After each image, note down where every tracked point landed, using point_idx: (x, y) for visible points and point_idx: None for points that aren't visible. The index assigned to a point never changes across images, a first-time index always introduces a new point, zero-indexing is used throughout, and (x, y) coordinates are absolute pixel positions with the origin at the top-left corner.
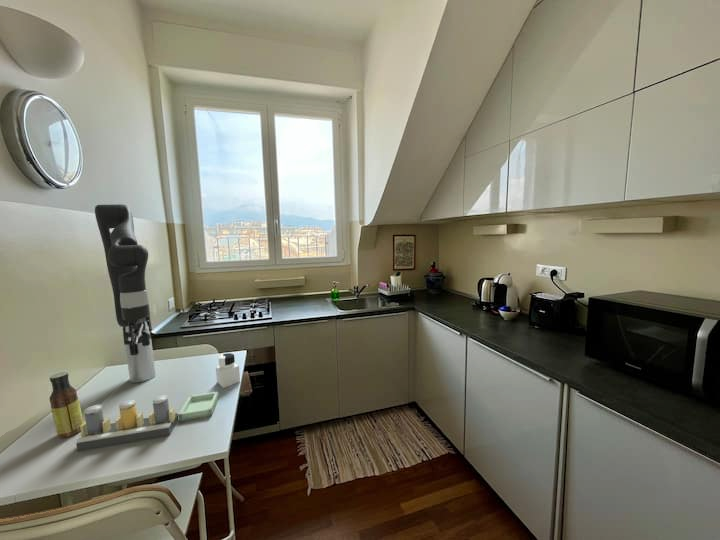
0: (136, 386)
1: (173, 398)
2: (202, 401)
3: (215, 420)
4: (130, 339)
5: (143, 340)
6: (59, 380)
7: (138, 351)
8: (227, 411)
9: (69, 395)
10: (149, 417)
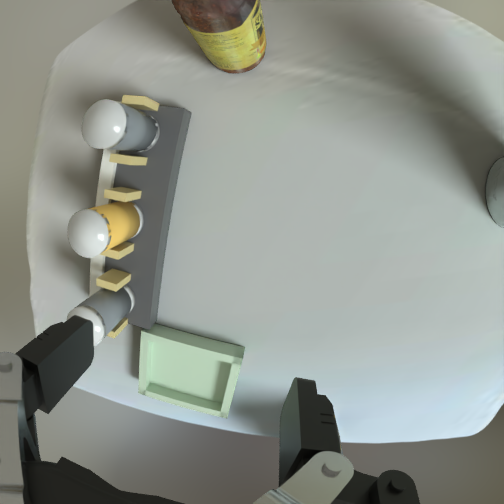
0: (464, 177)
1: (300, 303)
2: (216, 377)
3: (125, 385)
4: (5, 399)
5: (295, 421)
6: None
7: (78, 371)
8: (152, 408)
9: (180, 10)
10: (99, 277)
